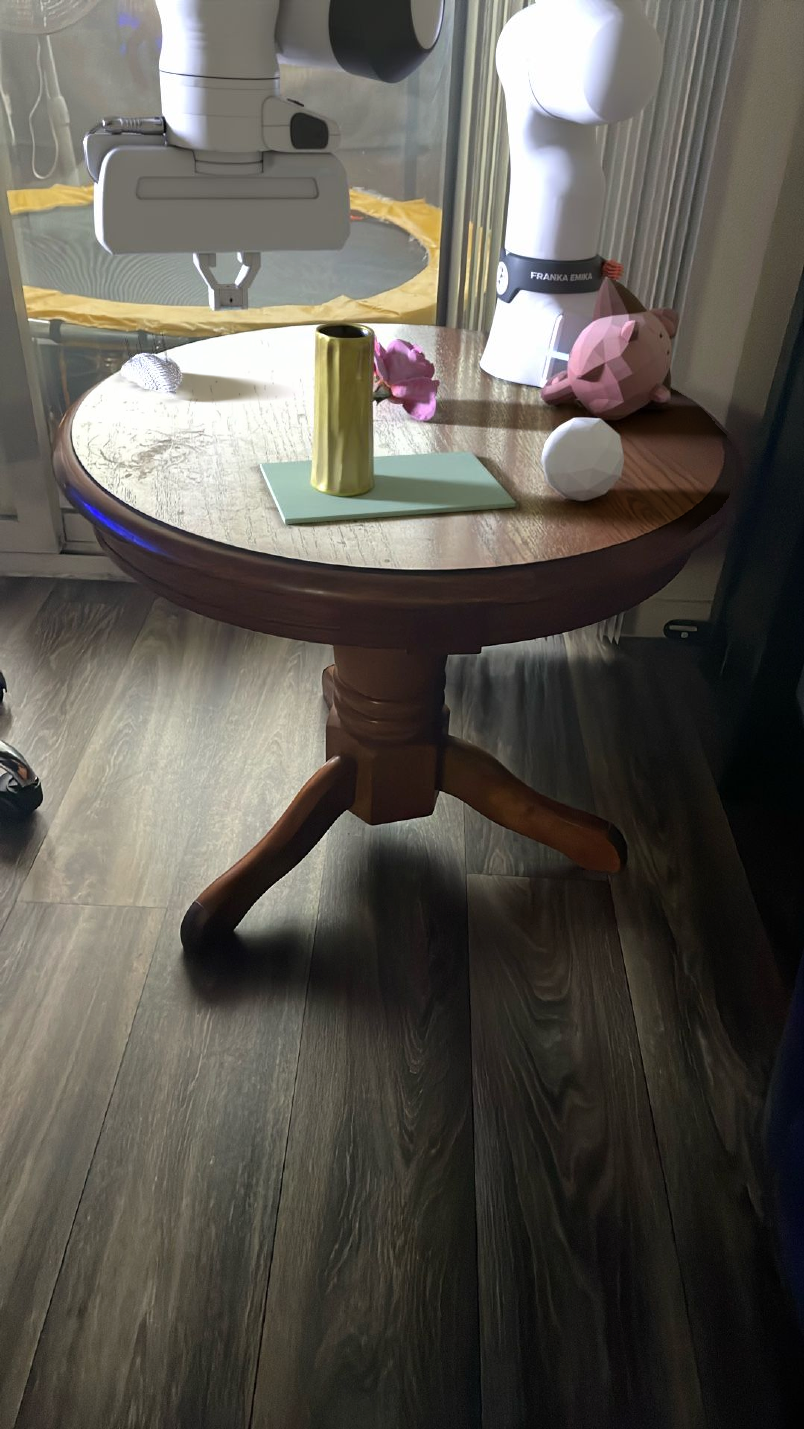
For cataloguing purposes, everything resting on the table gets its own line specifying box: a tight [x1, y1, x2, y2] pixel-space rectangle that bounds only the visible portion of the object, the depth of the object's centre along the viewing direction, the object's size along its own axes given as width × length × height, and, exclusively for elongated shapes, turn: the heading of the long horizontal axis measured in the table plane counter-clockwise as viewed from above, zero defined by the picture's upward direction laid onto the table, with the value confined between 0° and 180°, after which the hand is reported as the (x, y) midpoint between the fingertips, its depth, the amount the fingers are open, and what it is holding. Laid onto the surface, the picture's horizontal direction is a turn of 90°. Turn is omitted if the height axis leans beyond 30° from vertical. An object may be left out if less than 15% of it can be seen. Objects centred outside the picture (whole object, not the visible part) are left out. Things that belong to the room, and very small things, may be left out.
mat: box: [259, 450, 516, 525], centre depth 99 cm, size 22×13×1 cm, turn 106°
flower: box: [373, 334, 441, 422], centre depth 115 cm, size 11×10×10 cm
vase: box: [310, 321, 376, 497], centre depth 94 cm, size 6×6×14 cm
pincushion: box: [120, 332, 184, 395], centre depth 118 cm, size 12×6×6 cm, turn 32°
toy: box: [539, 277, 680, 421], centre depth 118 cm, size 17×16×15 cm
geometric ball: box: [541, 417, 625, 502], centre depth 98 cm, size 8×8×8 cm
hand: (228, 309), depth 86 cm, fingers closed
